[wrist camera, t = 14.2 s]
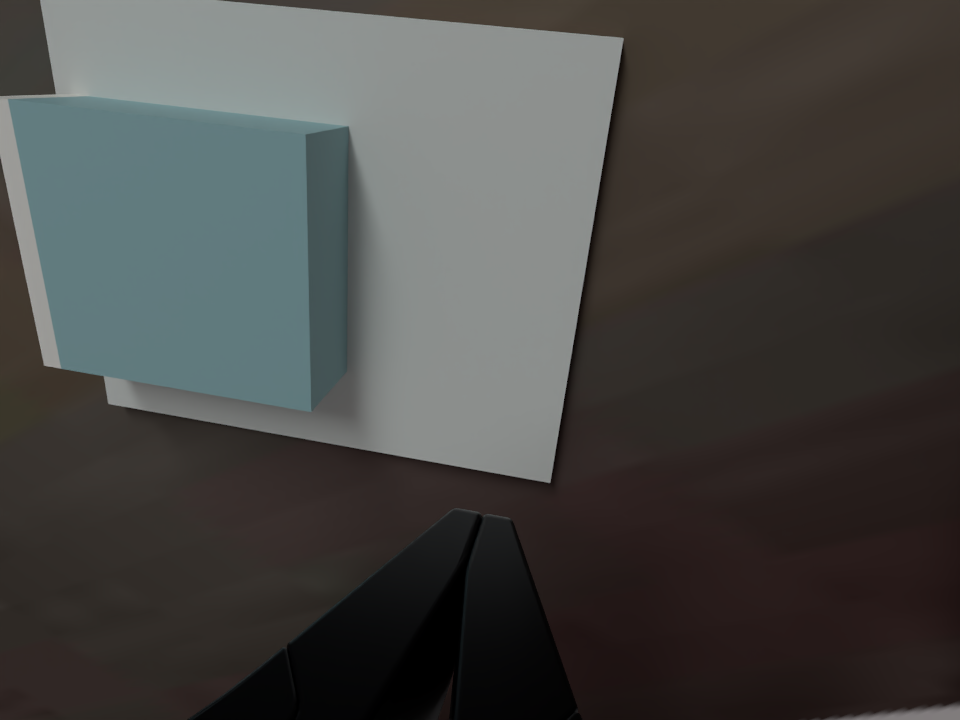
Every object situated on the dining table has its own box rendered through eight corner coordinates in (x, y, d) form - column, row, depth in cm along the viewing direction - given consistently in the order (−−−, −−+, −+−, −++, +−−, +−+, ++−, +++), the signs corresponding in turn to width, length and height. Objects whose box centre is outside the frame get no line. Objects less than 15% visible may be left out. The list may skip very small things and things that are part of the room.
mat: (623, 39, 17) (623, 38, 17) (551, 473, 23) (550, 482, 23) (53, -14, 19) (37, -17, 19) (119, 396, 25) (108, 403, 25)
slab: (305, 134, 16) (-13, 96, 17) (311, 412, 20) (44, 365, 21) (348, 126, 19) (71, 93, 20) (346, 371, 22) (109, 332, 23)
